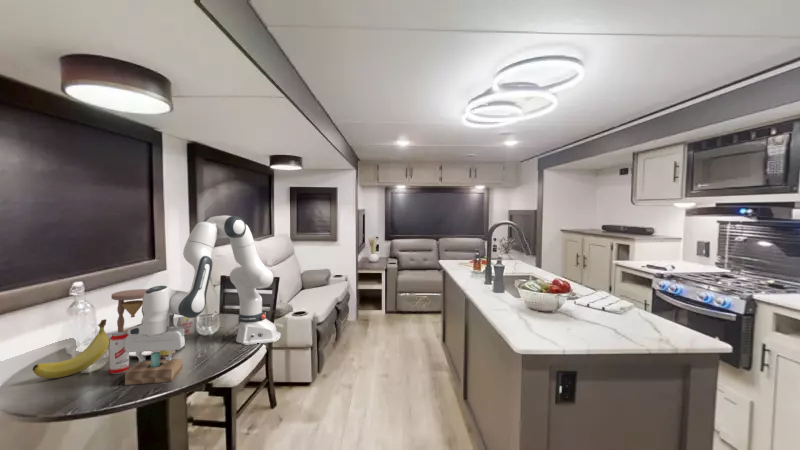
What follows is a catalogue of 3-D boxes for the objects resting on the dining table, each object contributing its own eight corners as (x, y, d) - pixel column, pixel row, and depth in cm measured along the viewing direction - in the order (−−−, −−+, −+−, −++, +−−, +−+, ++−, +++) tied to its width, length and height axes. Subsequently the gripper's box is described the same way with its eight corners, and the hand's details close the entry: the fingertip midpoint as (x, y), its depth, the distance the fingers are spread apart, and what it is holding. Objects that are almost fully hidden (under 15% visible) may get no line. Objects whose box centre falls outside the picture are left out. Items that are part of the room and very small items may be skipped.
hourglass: (101, 343, 169) (102, 294, 169) (136, 332, 186) (136, 288, 186) (128, 347, 165) (129, 297, 165) (161, 335, 182) (162, 290, 182)
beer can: (132, 369, 141) (133, 332, 141) (115, 376, 135) (116, 336, 135) (122, 367, 143) (123, 330, 143) (105, 373, 137) (106, 334, 137)
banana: (34, 386, 125) (35, 333, 125) (30, 382, 128) (31, 330, 128) (110, 365, 144) (111, 319, 144) (105, 362, 147) (106, 317, 147)
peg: (161, 375, 136) (161, 351, 136) (157, 378, 133) (157, 354, 133) (153, 376, 136) (153, 351, 136) (149, 379, 133) (149, 354, 133)
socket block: (182, 370, 141) (182, 358, 141) (171, 381, 131) (171, 369, 131) (139, 373, 138) (139, 361, 138) (124, 384, 128) (125, 371, 128)
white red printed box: (176, 335, 183) (177, 317, 183) (189, 332, 189) (190, 314, 189) (180, 336, 181) (180, 318, 181) (193, 333, 187) (193, 315, 187)
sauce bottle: (166, 360, 151) (167, 316, 151) (155, 358, 152) (156, 315, 152) (179, 354, 158) (179, 312, 157) (168, 353, 159) (168, 311, 159)
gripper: (187, 323, 140) (187, 356, 140) (132, 325, 135) (131, 359, 136) (181, 328, 133) (180, 362, 133) (122, 330, 129) (122, 366, 129)
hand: (155, 361), depth 134 cm, fingers open, 8 cm apart
